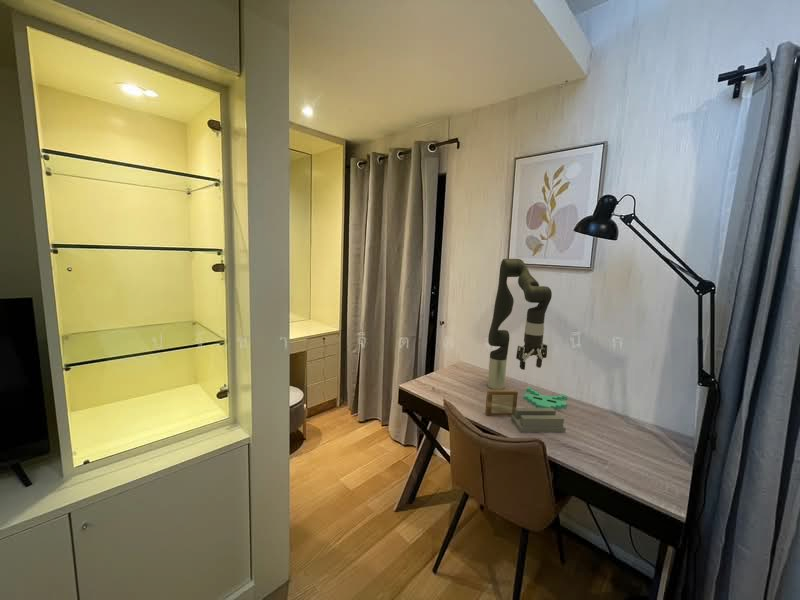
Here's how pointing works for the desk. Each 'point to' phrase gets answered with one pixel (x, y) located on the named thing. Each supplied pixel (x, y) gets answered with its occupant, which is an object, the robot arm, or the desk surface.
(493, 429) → the desk surface
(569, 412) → the desk surface
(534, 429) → the picture ledge
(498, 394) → the walnut frame
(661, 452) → the desk surface
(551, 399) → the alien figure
